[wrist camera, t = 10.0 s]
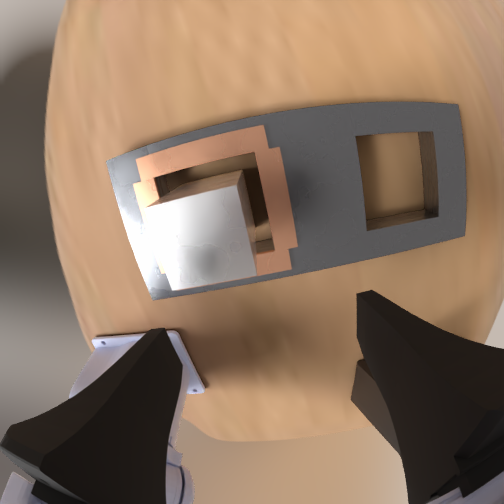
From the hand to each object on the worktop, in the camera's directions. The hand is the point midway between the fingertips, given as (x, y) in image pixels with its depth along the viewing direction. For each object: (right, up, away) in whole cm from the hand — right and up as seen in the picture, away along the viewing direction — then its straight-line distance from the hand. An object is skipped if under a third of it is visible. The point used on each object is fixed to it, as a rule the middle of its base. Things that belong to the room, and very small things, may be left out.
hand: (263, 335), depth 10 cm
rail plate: (+3, +7, +8) cm, 11 cm away
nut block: (-3, +6, +8) cm, 11 cm away
